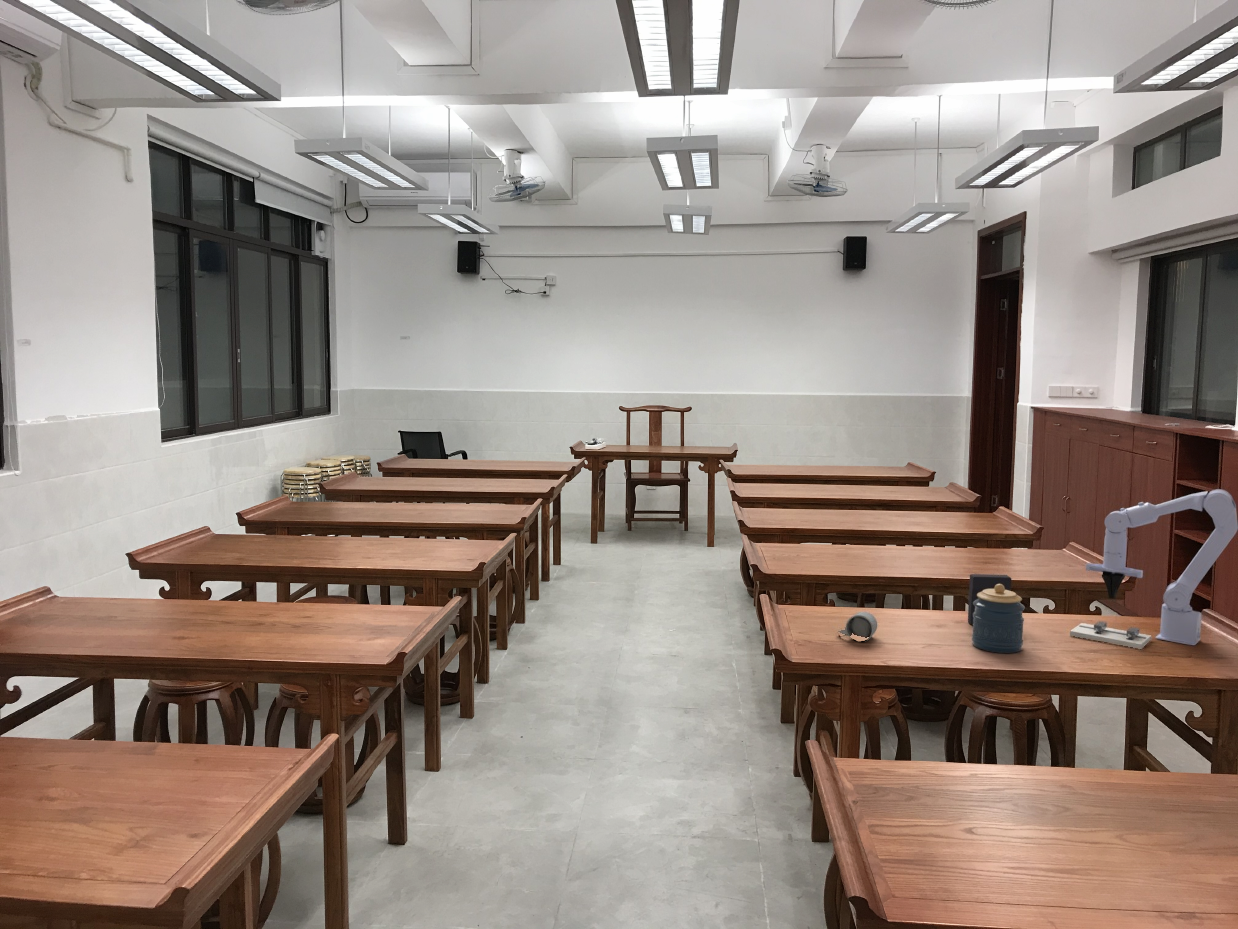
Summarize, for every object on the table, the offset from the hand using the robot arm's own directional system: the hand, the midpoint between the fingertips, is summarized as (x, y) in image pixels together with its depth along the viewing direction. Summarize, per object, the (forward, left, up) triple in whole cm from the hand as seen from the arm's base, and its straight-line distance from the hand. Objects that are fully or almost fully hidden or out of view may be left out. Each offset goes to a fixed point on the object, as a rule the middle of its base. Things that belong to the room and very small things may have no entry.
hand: (1112, 598), depth 257 cm
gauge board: (-2, +10, -9) cm, 14 cm away
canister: (+18, +40, -10) cm, 45 cm away
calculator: (+28, +20, -10) cm, 36 cm away
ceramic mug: (+50, +60, -10) cm, 78 cm away
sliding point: (0, +10, -7) cm, 12 cm away
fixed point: (-8, +10, -7) cm, 15 cm away
